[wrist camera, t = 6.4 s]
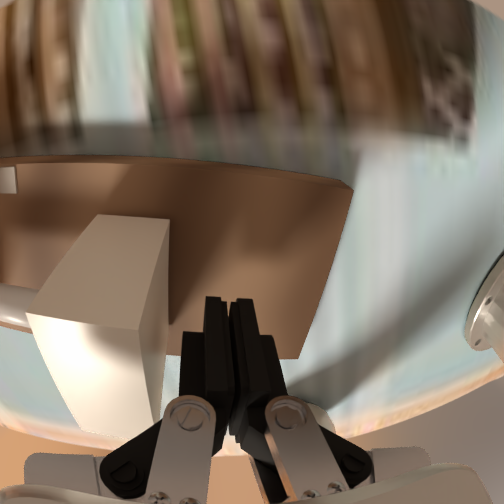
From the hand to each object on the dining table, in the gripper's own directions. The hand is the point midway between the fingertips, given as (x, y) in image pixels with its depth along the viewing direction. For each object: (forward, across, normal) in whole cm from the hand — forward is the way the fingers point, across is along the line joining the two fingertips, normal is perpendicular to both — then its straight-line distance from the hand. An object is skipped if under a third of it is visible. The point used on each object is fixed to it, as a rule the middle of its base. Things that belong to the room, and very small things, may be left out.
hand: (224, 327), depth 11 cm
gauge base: (+4, +8, 0) cm, 9 cm away
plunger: (+3, +8, 0) cm, 8 cm away
